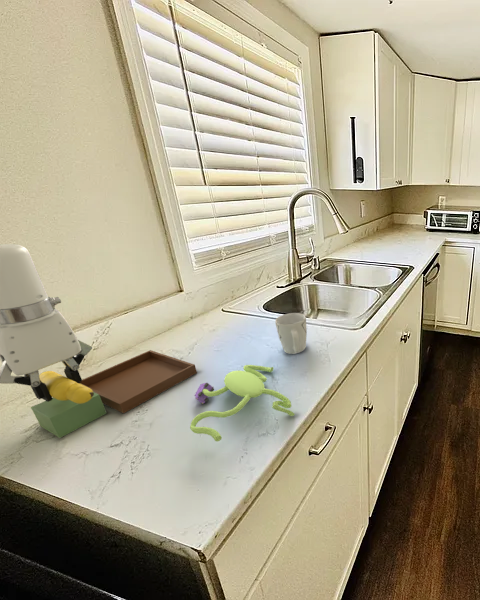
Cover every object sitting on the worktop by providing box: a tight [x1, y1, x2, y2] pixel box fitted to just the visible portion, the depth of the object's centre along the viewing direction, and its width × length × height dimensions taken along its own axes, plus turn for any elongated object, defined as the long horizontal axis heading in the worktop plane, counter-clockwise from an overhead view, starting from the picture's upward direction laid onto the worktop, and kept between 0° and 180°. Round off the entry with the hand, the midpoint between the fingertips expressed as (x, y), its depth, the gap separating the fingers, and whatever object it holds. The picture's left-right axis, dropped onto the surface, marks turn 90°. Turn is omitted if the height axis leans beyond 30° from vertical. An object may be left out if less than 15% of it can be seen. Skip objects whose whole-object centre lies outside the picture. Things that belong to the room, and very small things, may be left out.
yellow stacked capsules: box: [39, 370, 94, 404], centre depth 67 cm, size 17×4×4 cm, turn 65°
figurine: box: [189, 364, 295, 442], centre depth 73 cm, size 18×27×6 cm
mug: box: [274, 312, 308, 355], centre depth 94 cm, size 11×8×10 cm
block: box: [30, 392, 108, 439], centre depth 69 cm, size 8×8×5 cm
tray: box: [80, 349, 198, 414], centre depth 82 cm, size 19×17×3 cm
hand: (61, 391), depth 67 cm, fingers closed on yellow stacked capsules, 4 cm apart
